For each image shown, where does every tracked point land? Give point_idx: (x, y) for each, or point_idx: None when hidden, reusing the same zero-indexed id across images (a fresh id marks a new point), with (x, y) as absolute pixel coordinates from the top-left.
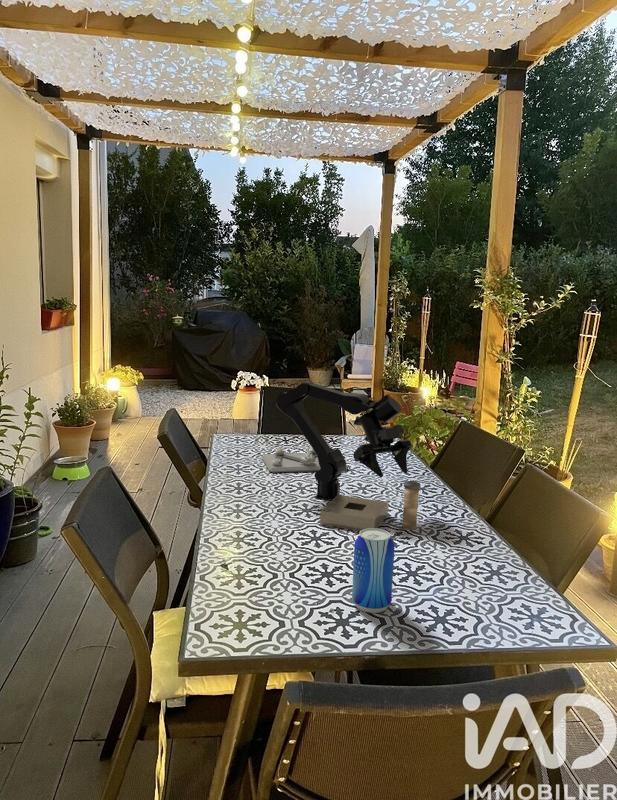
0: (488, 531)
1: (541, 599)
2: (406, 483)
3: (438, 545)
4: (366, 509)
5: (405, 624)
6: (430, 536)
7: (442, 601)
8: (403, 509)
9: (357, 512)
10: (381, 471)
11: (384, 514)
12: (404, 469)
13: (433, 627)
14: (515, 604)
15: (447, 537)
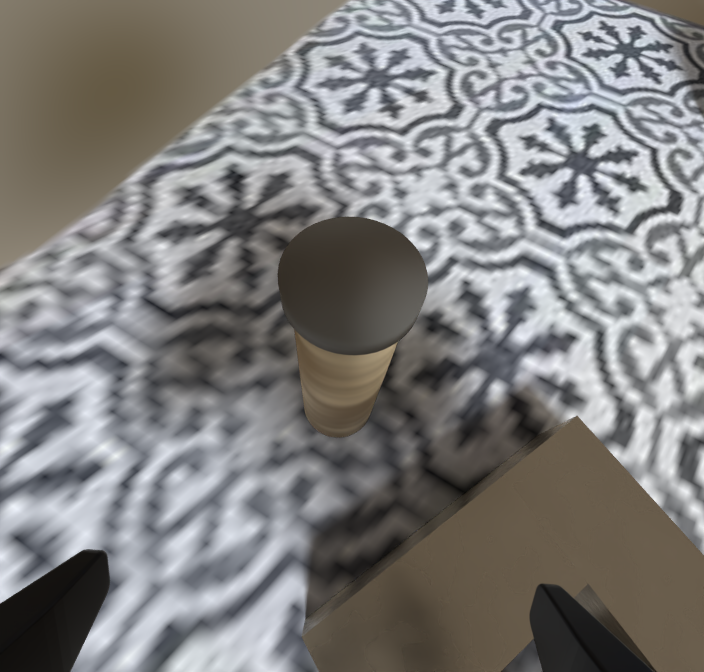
0: (102, 210)
1: (393, 3)
2: (401, 295)
3: None
4: None
5: (701, 68)
6: None
7: (586, 74)
8: (377, 391)
9: (630, 571)
10: (583, 633)
11: (385, 560)
12: (70, 611)
13: (654, 45)
14: (455, 16)
15: None
